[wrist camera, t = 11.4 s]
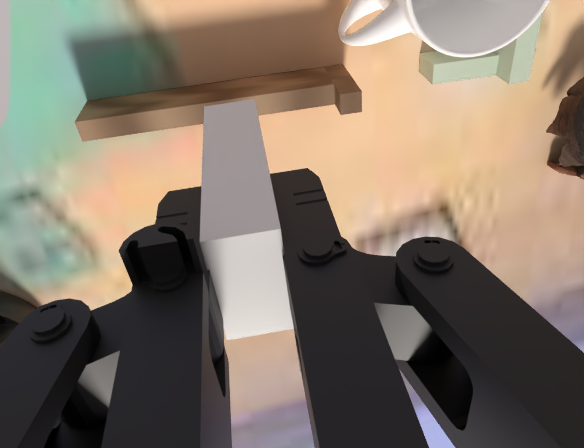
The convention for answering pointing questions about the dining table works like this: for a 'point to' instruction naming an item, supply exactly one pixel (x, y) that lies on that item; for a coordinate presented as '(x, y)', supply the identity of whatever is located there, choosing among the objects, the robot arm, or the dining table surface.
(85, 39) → the dining table surface
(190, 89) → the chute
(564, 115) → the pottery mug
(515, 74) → the end stop
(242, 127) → the robot arm
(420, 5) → the mug
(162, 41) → the dining table surface
